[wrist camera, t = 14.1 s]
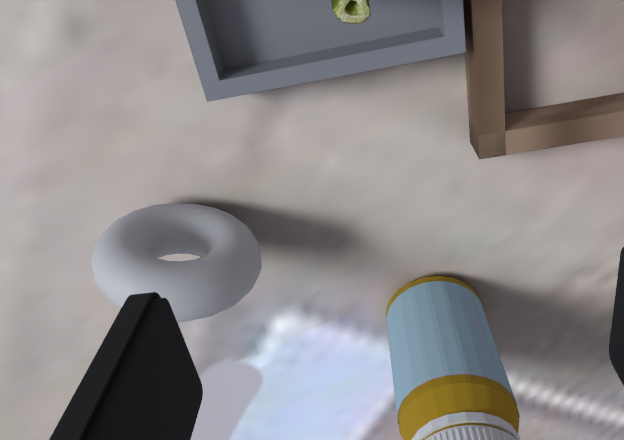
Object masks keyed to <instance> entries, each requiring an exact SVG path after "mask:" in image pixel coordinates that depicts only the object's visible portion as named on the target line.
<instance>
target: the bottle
mask: <svg viewBox="0 0 624 440" xmlns="http://www.w3.org/2000/svg"><path fill="white" fill-rule="evenodd" d="M386 316H387V318H386V319H387V330H388V339H389V347H390V356H391V365H392V373H393V382H394V391H395V399H396V408H397V417H398V424H399V429H400V434H401V436H402V438H403V440H520V438H519V435H518V428H519V412H518V409H517V404H516V401H515V398H514V396H513V393H512V390H511V387H510V384H509V381H508V378H507V375H506V373H505V370H504V367H503V364H502V361H501V358H500V355H499V352H498V350H497V347H496V344H495V341H494V338H493V335H492V332H491V329H490V327H489V324H488V321H487V318H486V315H485V312H484V309H483V307H482V304H481V302H480V300H479V297H478V295H477V293H476V292H475V291H474V290H473V289H472V288H471V287H470V286H469V285H468V284H466V283H464V282H462V281H460V280H458V279H455V278H451V277H445V276H430V277H423V278H420V279H417V280H414V281H412V282H410V283H408V284H406V285H405V286H403V287H402V288H400V289H399V290H398V291H397V292H396V293H395V294H394V296H393V297H392V298H391V300H390V301H389V304H388V307H387V311H386Z"/></svg>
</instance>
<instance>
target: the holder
mask: <svg viewBox="0 0 624 440" xmlns="http://www.w3.org/2000/svg"><path fill="white" fill-rule="evenodd" d="M463 11H464V29H465V46H466V52H465V61H466V77H467V94H468V111H469V128H470V143H471V144H472V146H473V148H474V150H475V152H476V154H477V156H478V158H479V159H485V158H491V157H497V156H503V155H509V154H515V153H522V152H528V151H534V150H540V149H546V148H552V147H558V146H564V145H570V144H576V143H583V142H589V141H595V140H601V139H607V138H613V137H619V136H624V93H620V94H614V95H608V96H602V97H597V98H591V99H585V100H579V101H574V102H568V103H562V104H556V105H551V106H545V107H539V108H533V109H528V110H522V111H516V112H510V113H505V100H504V57H503V14H502V0H463Z"/></svg>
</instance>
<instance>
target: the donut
mask: <svg viewBox="0 0 624 440" xmlns="http://www.w3.org/2000/svg"><path fill="white" fill-rule="evenodd" d="M177 253H180V254H192V255H197V256H200V257H201V258H198V259H196V260H190V261H183V262H179V261H166V260H161V259H157V258H159V257H162V256H165V255H170V254H177ZM92 268H93V272H94V277H95V281H96V284H97V286H98V287H99V288H100V290H101V291H102V292H103V293H104V294H105V295H106V296H107V298H108V299H109V300H110V301H111V302H112V303H113V304H114V305H116V306H118V307H120V308H122V306H123V304H124V303H125V301H126V299H127V298H128V296H130V295H133V294H142V293H151V292H156V293H158V294H159V295H160V297H161V298H166V299H167V300H168V301H169V303H170V306H171V308H172V311H173V313H174V316H175V318H176V321H190V320H195V319H200V318H205V317H210V316H212V315H215V314H217V313H219V312H221V311H223V310H226V309H228V308H230V307H232V306H234V305H235V304H236V303H237V302H239V301H240V300H241V299H242V298H243V297H244V296H245V295H247V294H248V293H249V292H250V290H251V289H252V288H253V286H254V284H255V282H256V280H257V278H258V275H259V273H260V270H261V253H260V245H259V243H258V241H257V239H256V238H255V236H254V235H253V233H252V232H251V230H250V229H249V227H248V226H246V225H245V224H244V223H242V222H241V221H240V220H238V219H237V218H236V217H234V216H233V215H232V214H229V213H227V212H224V211H222V210H219V209H217V208H214V207H209V206H204V205H199V204H188V203H170V204H161V205H153V206H150V207H146V208H143V209H139V210H136V211H133V212H131V213H129V214H127V215H125V216H124V217H122V218H120V219H118V220H117V221H115V222H114V223H113V224H112V225H111V226H110V227H109V228H108V229H107V230H106V231H105V232H104V233H103V234H102V235H101V236H100V238H99V240H98V242H97V244H96V247H95V250H94V252H93V255H92Z"/></svg>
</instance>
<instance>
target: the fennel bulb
mask: <svg viewBox="0 0 624 440" xmlns="http://www.w3.org/2000/svg"><path fill="white" fill-rule="evenodd" d="M331 4H332V11H333V12H334V13H335V15H336V17H337V19H339V20H340V21H341V22H343V23H350V24H361V23H363V22H364V21H366V20H367V19H368V18H369V17H370V16H371V13H370V5H369V0H331Z"/></svg>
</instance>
